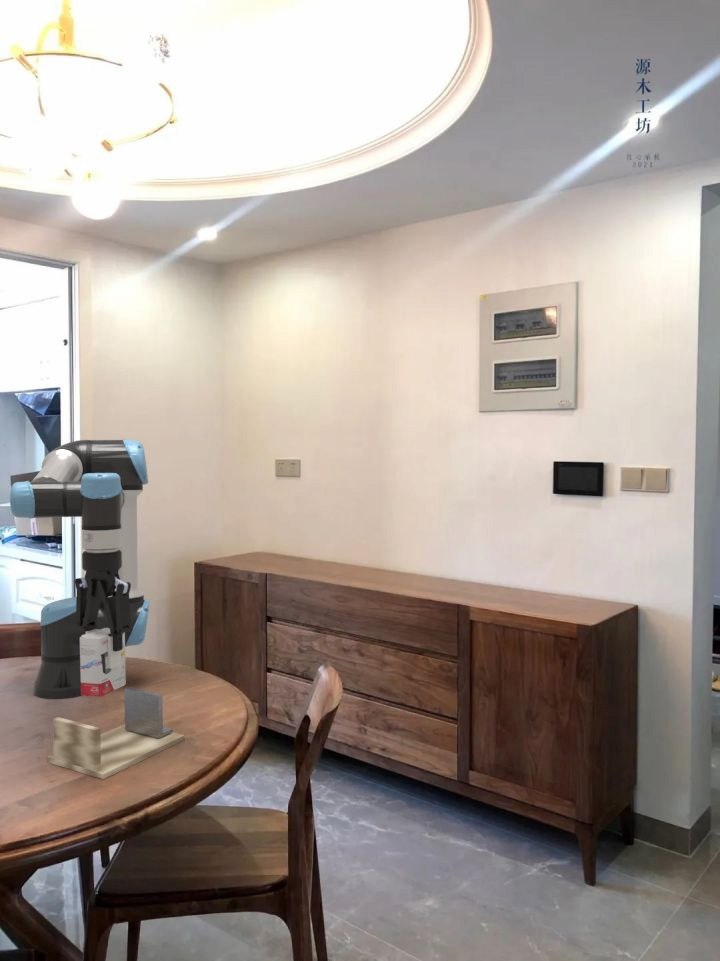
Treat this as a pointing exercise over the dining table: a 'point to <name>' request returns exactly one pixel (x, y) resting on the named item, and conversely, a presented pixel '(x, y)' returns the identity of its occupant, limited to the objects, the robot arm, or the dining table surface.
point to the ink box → (99, 665)
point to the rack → (103, 747)
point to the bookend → (144, 713)
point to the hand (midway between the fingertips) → (103, 664)
